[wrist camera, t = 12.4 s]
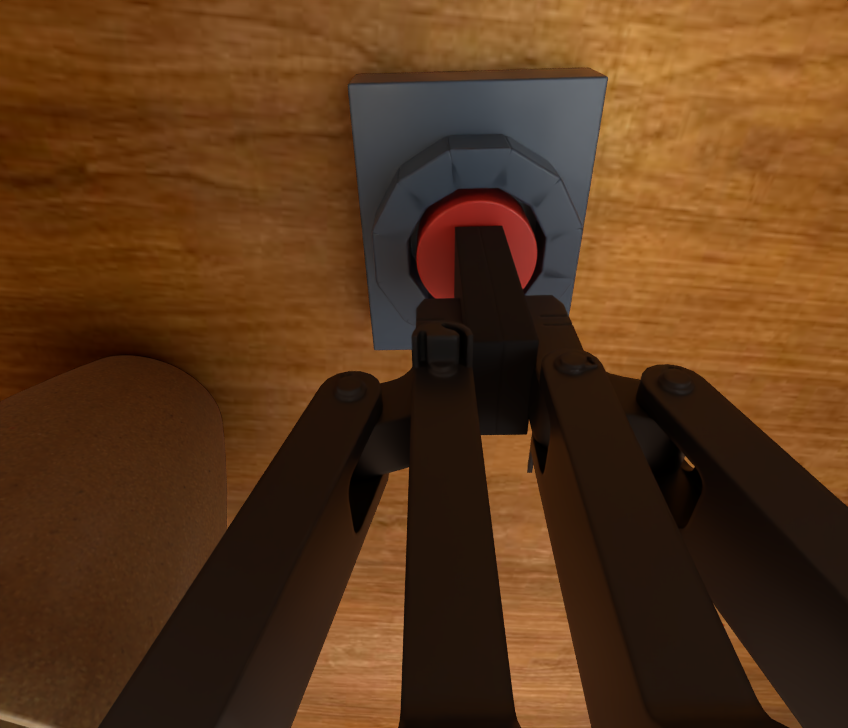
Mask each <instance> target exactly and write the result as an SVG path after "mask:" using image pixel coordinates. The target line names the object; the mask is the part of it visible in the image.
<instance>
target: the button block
mask: <svg viewBox="0 0 848 728" xmlns="http://www.w3.org/2000/svg"><path fill="white" fill-rule="evenodd" d="M607 81H608V77H607V76H605V75H603V74H601V73H599V72H597V71H595V70H593V69H591V68H558V69H522V70H487V71H451V72H415V73H379V74H356V75H355V76H354V77H353V79H352V80H351V81H350V82H349V83H348V95H349V105H350V115H351V125H352V135H353V145H354V155H355V165H356V175H357V185H358V195H359V205H360V215H361V225H362V235H363V245H364V255H365V265H366V275H367V284H368V294H369V304H370V314H371V324H372V334H373V344H374V350H412V343H411V336H412V333H413V331H414V330H415V329H416V308H417V307H418V306H419V304H420V303H421V302H422V301H423V300H424V299H435V298H434V297H433V296H432V295H431V294H430V293H429V292H428V290H427V289H426V288H425V286H424V284H423V283H422V281H421V279H420V276H419V273H418V269H417V262H416V257H417V234H418V228H419V225H420V222H421V219H422V217H423V215H424V213H425V212H426V210H427V209H428V207H429V206H431V205H433V204H434V203H436V202H438V201H439V200H441V199H443V198H444V197H446V196H448V195H449V194H451V193H453V192H454V191H456V190H458V189H475V188H499V189H501V190H503V191H504V192H506V193H508V194H510V195H511V196H512V197H513V198H514V199H516V200H517V202H518V203H519V204H520V205H521V207H522V209H523V210H524V212H525V214H526V217H527V219H528V221H529V224H530V226H531V228H532V231H533V233H534V235H535V239H536V243H537V261H536V266H535V269H534V272H533V274H532V276H531V278H530V280H529V282H528V283H527V285H526V286H525V287H524V289H523V292H524V295H553V296H554V297H555V298H557V299H558V300H559V301H560V302H562V303H563V304H564V306H565V308H566V311H567V313H568V317H569V312H570V306H571V300H572V294H573V288H574V282H575V276H576V270H577V264H578V258H579V252H580V246H581V239H582V233H583V227H584V221H585V215H586V209H587V203H588V197H589V191H590V185H591V179H592V172H593V166H594V160H595V154H596V148H597V142H598V136H599V130H600V124H601V118H602V112H603V106H604V100H605V94H606V87H607Z"/></svg>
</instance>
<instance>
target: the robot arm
mask: <svg viewBox="0 0 848 728" xmlns="http://www.w3.org/2000/svg"><path fill="white" fill-rule="evenodd" d="M411 343H412V364H413V367H412V368H411V370H410V371H409V372H407V373H406V374H405V375H404V376H402V377H400V378H398V379H395V380H392V381H389V382H384V383H379V381H378V379H377V378H375V377H374V376H372V375H371V374H368V373H365V372H361V371H348V372H344V373H339V374H336V375H334V376H332V377H330V378H328V379H327V380H326V381H325V382H324V383H323V384H322V385H321V386H320V388H319V389H318V391H317V392H316V394H315V396H314V397H313V399H312V400H311V402H310V403H309V405H308V406H307V408H306V409H305V411H304V412H303V414H302V415H301V417H300V419H299V420H298V422H297V423H296V425H295V426H294V428H293V429H292V431H291V432H290V434H289V435H288V437H287V438H286V440H285V441H284V443H283V445H282V446H281V448H280V449H279V451H278V452H277V454H276V455H275V457H274V458H273V460H272V461H271V463H270V464H269V466H268V468H267V469H266V471H265V472H264V474H263V475H262V477H261V478H260V480H259V481H258V483H257V484H256V486H255V487H254V489H253V491H252V492H251V494H250V495H249V497H248V498H247V500H246V501H245V503H244V504H243V506H242V507H241V509H240V510H239V512H238V514H237V515H236V517H235V518H234V520H233V521H232V523H231V524H230V526H229V527H228V529H227V530H226V532H225V533H224V535H223V537H222V538H221V540H220V541H219V543H218V544H217V546H216V547H215V549H214V550H213V552H212V553H211V555H210V556H209V558H208V560H207V561H206V563H205V564H204V566H203V567H202V569H201V570H200V572H199V573H198V575H197V576H196V578H195V579H194V581H193V583H192V584H191V586H190V587H189V589H188V590H187V592H186V593H185V595H184V596H183V598H182V599H181V601H180V602H179V604H178V605H177V607H176V609H175V610H174V612H173V613H172V615H171V616H170V618H169V619H168V621H167V622H166V624H165V625H164V627H163V628H162V630H161V632H160V633H159V635H158V636H157V638H156V639H155V641H154V642H153V644H152V645H151V647H150V648H149V650H148V651H147V653H146V655H145V656H144V658H143V659H142V661H141V662H140V664H139V665H138V667H137V668H136V670H135V671H134V673H133V674H132V676H131V678H130V679H129V681H128V682H127V684H126V685H125V687H124V688H123V690H122V691H121V693H120V694H119V696H118V697H117V699H116V701H115V702H114V704H113V705H112V707H111V708H110V710H109V711H108V713H107V714H106V716H105V717H104V719H103V720H102V722H101V724H100V725H99V727H98V728H291V726H292V723H293V721H294V718H295V716H296V713H297V710H298V708H299V705H300V703H301V700H302V698H303V695H304V693H305V690H306V688H307V685H308V682H309V680H310V677H311V675H312V672H313V670H314V667H315V665H316V662H317V659H318V657H319V654H320V652H321V649H322V647H323V644H324V642H325V639H326V637H327V634H328V631H329V629H330V626H331V624H332V621H333V619H334V616H335V614H336V611H337V608H338V606H339V603H340V601H341V598H342V596H343V593H344V591H345V588H346V586H347V583H348V580H349V578H350V575H351V573H352V570H353V568H354V565H355V563H356V560H357V557H358V555H359V552H360V550H361V547H362V545H363V542H364V540H365V537H366V535H367V532H368V529H369V527H370V524H371V522H372V519H373V517H374V514H375V512H376V509H377V506H378V504H379V501H380V499H381V496H382V494H383V491H384V489H385V486H386V484H387V481H388V476H389V473H390V472H394V471H397V470H401V469H404V468H408V467H409V488H408V517H407V545H406V574H405V603H404V632H403V661H402V689H401V713H400V722H399V727H398V728H521V727H520V725H519V723H518V720H517V717H516V712H515V707H514V700H513V692H512V684H511V676H510V668H509V660H508V652H507V644H506V635H505V627H504V619H503V611H502V603H501V595H500V587H499V579H498V571H497V563H496V555H495V547H494V538H493V530H492V522H491V514H490V506H489V498H488V490H487V482H486V474H485V466H484V458H483V450H482V441H481V435H522V434H527V431H528V423H529V420H530V425H531V429H532V438H531V445H530V453H529V460H528V470H527V473H532V469H533V465H534V469H535V473H536V478H537V482H538V487H539V491H540V496H541V501H542V505H543V510H544V514H545V519H546V523H547V528H548V532H549V537H550V541H551V546H552V551H553V555H554V560H555V564H556V569H557V573H558V578H559V582H560V587H561V591H562V596H563V601H564V605H565V610H566V614H567V619H568V623H569V628H570V632H571V637H572V641H573V646H574V651H575V655H576V660H577V664H578V669H579V673H580V678H581V682H582V687H583V691H584V696H585V701H586V705H587V710H588V714H589V719H590V723H591V728H789V727H787V726H785V725H783V724H781V723H779V722H777V721H775V720H773V719H771V718H770V717H769V715H768V714H767V713H766V712H765V711H764V710H763V708H762V706H761V704H760V703H759V701H758V699H757V697H756V695H755V693H754V691H753V689H752V687H751V684H750V682H749V680H748V678H747V676H746V674H745V671H744V669H743V667H742V665H741V663H740V661H739V658H738V656H737V654H736V652H735V650H734V648H733V646H732V643H731V641H730V639H729V637H728V635H727V633H726V630H725V628H724V626H723V624H722V622H721V620H720V617H719V615H718V613H717V611H716V609H715V607H716V608H717V609H718V611H719V612H720V613H721V615H722V616H723V618H724V619H725V620H726V622H727V623H728V625H729V626H730V627H731V629H732V630H733V632H734V633H735V634H736V636H737V637H738V638H739V640H740V641H741V643H742V644H743V645H744V647H745V648H746V650H747V651H748V652H749V654H750V655H751V657H752V658H753V659H754V661H755V662H756V663H757V665H758V666H759V668H760V669H761V670H762V672H763V673H764V675H765V676H766V677H767V679H768V680H769V682H770V683H771V684H772V686H773V687H774V688H775V690H776V691H777V693H778V694H779V695H780V697H781V698H782V700H783V701H784V702H785V704H786V705H787V706H788V708H789V709H790V711H791V712H792V713H793V715H794V716H795V718H796V719H797V720H798V722H799V723H800V725H801V726H802V727H803V728H848V507H847V506H846V505H845V504H844V503H843V502H842V501H840V500H839V499H838V498H837V497H836V496H835V495H834V494H833V493H831V492H830V491H829V490H828V489H827V488H826V487H825V486H824V485H822V484H821V483H820V482H819V481H818V480H817V479H816V478H815V477H814V476H812V475H811V474H810V473H809V472H808V471H807V470H806V469H805V468H803V467H802V466H801V465H800V464H799V463H798V462H797V461H796V460H795V459H793V458H792V457H791V456H790V455H789V454H788V453H787V452H786V451H784V450H783V449H782V448H781V447H780V446H779V445H778V444H777V443H775V442H774V441H773V440H772V439H771V438H770V437H769V436H768V435H767V434H765V433H764V432H763V431H762V430H761V429H760V428H759V427H758V426H756V425H755V424H754V423H753V422H752V421H751V420H750V419H749V418H748V417H746V416H745V415H744V414H743V413H742V412H741V411H740V410H739V409H737V408H736V407H735V406H734V405H733V404H732V403H731V402H730V401H728V400H727V399H726V398H725V397H724V396H723V395H722V394H721V393H720V392H718V391H717V390H716V389H715V388H714V387H713V386H712V385H711V384H709V383H708V382H707V381H706V380H705V379H704V378H703V377H701V376H700V375H698V374H697V373H695V372H694V371H691V370H689V369H686V368H683V367H681V366H675V365H669V364H665V365H655V366H652V367H649V368H647V369H646V370H645V371H644V372H643V373H642V376H641V380H639V379H633V378H628V377H622V376H618V375H614V374H610V373H608V372H606V371H605V369H604V367H603V365H602V363H601V362H600V361H599V360H598V358H597V357H595V356H593V355H592V354H590V353H588V352H585V351H584V350H583V348H582V345H581V343H580V341H579V338H578V336H577V334H576V332H575V329H574V327H573V325H572V322H571V320H570V318H569V317H568V313H567V311H566V308H565V306H564V304H563V303H562V302H560V301H559V300H558V299H557V298H555V297H554V296H553V295H524V292H523V289H522V286H521V282H520V279H519V276H518V273H517V270H516V267H515V264H514V261H513V257H512V254H511V251H510V248H509V245H508V242H507V239H506V235H505V232H504V229H503V226H468V227H455V260H454V298H435V299H424V300H423V301H422V302H421V303H420V304H419V306H418V307H417V308H416V329H415V330H414V331H413V333H412V336H411ZM685 456H686V457H687V458H688V459H689V460H690V462H691V463H692V464H693V465H694V466H695V468H692V467H691V466H690V465H689V464H688V463H687V462H686V461H685V460H684V457H685ZM714 605H715V607H714Z"/></svg>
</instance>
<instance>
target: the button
mask: <svg viewBox="0 0 848 728" xmlns="http://www.w3.org/2000/svg"><path fill="white" fill-rule="evenodd" d="M468 226H503V229H504V232H505V235H506V239H507V242H508V245H509V248H510V251H511V254H512V257H513V261H514V264H515V267H516V270H517V273H518V276H519V279H520V282H521V286H522V289H524V287H525V286H526V285H527V283H528V282H529V280H530V278H531V276H532V274H533V272H534V269H535V266H536V261H537V243H536V239H535V235H534V233H533V231H532V228H531V226H530V224H529V221H528V219H527V217H526V214H525V212H524V210H523V209H522V207H521V205H520V204H519V203H518V202H517V200H516V199H514V198H513V197H512V196H511V195H510V194H508V193H506V192H504V191H503V190H501V189H499V188H475V189H458V190H456V191H454V192H453V193H451V194H449V195H448V196H446V197H444V198H443V199H441V200H439V201H438V202H436V203H434V204H433V205H431V206H429V207H428V209H427V210H426V212H425V213H424V215H423V217H422V219H421V222H420V225H419V228H418V234H417V257H416V262H417V269H418V273H419V276H420V279H421V281H422V283H423V284H424V286H425V288H426V289H427V290H428V292H429V293H430V294H431V295H432V296H433V297H434V298H454V260H455V227H468Z"/></svg>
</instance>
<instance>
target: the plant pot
mask: <svg viewBox="0 0 848 728" xmlns="http://www.w3.org/2000/svg"><path fill="white" fill-rule="evenodd" d="M226 529H227V477H226V455H225V442H224V432H223V423H222V417H221V413H220V410H219V408H218V405H217V404H216V402H215V400H214V399H213V397H212V396H211V395H210V393H209V392H208V391H207V390H206V389H205V388H204V387H203V386H202V385H201V384H200V383H199V382H198V381H196V380H195V379H194V378H193V377H191V376H190V375H188V374H187V373H185V372H183V371H182V370H180V369H178V368H176V367H174V366H172V365H170V364H167V363H165V362H162V361H158V360H155V359H151V358H146V357H140V356H131V355H120V356H111V357H106V358H103V359H100V360H97V361H94V362H91V363H89V364H86V365H83V366H81V367H78V368H76V369H73V370H71V371H68V372H66V373H63V374H61V375H58V376H56V377H54V378H51V379H49V380H47V381H44V382H42V383H40V384H37V385H35V386H33V387H31V388H28V389H26V390H24V391H22V392H19V393H17V394H15V395H13V396H11V397H9V398H6V399H4V400H2V401H0V728H98V727H99V725H100V724H101V722H102V720H103V719H104V717H105V716H106V714H107V713H108V711H109V710H110V708H111V707H112V705H113V704H114V702H115V701H116V699H117V697H118V696H119V694H120V693H121V691H122V690H123V688H124V687H125V685H126V684H127V682H128V681H129V679H130V678H131V676H132V674H133V673H134V671H135V670H136V668H137V667H138V665H139V664H140V662H141V661H142V659H143V658H144V656H145V655H146V653H147V651H148V650H149V648H150V647H151V645H152V644H153V642H154V641H155V639H156V638H157V636H158V635H159V633H160V632H161V630H162V628H163V627H164V625H165V624H166V622H167V621H168V619H169V618H170V616H171V615H172V613H173V612H174V610H175V609H176V607H177V605H178V604H179V602H180V601H181V599H182V598H183V596H184V595H185V593H186V592H187V590H188V589H189V587H190V586H191V584H192V583H193V581H194V579H195V578H196V576H197V575H198V573H199V572H200V570H201V569H202V567H203V566H204V564H205V563H206V561H207V560H208V558H209V556H210V555H211V553H212V552H213V550H214V549H215V547H216V546H217V544H218V543H219V541H220V540H221V538H222V537H223V535H224V533H225V532H226Z"/></svg>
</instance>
